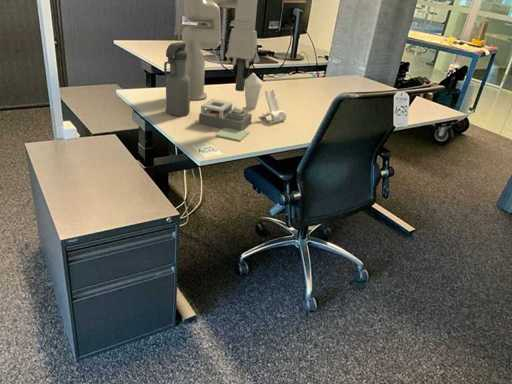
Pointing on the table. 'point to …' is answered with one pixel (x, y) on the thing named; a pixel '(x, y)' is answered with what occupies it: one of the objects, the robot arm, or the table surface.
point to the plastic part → (274, 109)
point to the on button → (238, 110)
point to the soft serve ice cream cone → (252, 90)
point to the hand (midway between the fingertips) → (240, 76)
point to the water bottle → (177, 81)
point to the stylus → (240, 75)
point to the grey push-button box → (223, 116)
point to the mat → (232, 134)
